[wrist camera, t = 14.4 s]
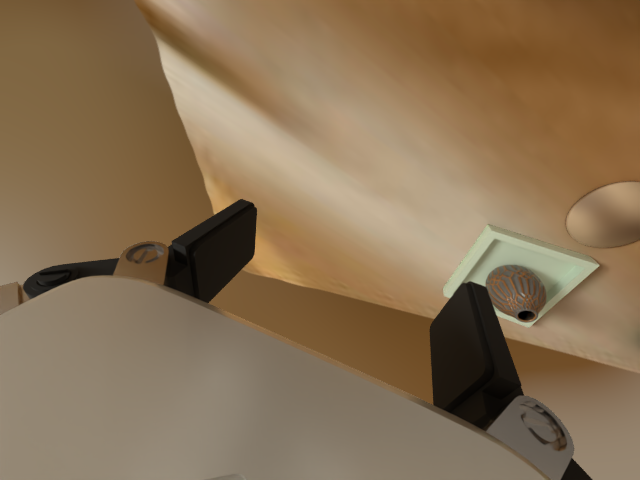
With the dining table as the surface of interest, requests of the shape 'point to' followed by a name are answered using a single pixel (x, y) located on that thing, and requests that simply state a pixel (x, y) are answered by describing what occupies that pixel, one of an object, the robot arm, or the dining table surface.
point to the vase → (516, 292)
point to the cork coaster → (607, 216)
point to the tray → (515, 249)
